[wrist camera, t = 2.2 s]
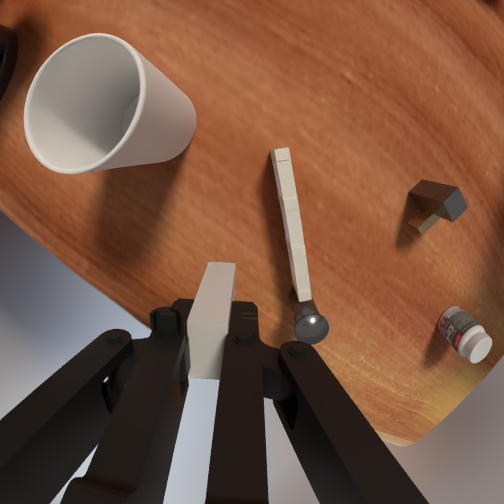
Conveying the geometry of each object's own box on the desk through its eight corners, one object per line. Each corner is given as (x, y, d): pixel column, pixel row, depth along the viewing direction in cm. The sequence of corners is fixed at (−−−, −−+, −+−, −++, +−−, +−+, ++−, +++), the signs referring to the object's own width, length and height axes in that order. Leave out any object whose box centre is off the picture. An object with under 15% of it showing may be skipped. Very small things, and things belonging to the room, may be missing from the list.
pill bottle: (435, 315, 35) (467, 348, 27) (460, 299, 35) (494, 327, 27) (439, 339, 37) (467, 372, 29) (463, 323, 36) (493, 352, 28)
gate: (302, 278, 33) (311, 299, 28) (292, 281, 33) (299, 302, 28) (281, 148, 29) (288, 147, 24) (269, 150, 29) (274, 149, 24)
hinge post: (279, 294, 34) (287, 330, 27) (302, 276, 33) (316, 309, 26) (296, 312, 34) (307, 350, 27) (318, 296, 34) (335, 330, 27)
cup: (203, 151, 29) (157, 148, 14) (129, 172, 29) (35, 193, 14) (188, 76, 26) (134, 11, 11) (115, 100, 27) (19, 70, 11)
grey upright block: (392, 205, 31) (425, 219, 24) (422, 179, 30) (458, 187, 23) (405, 226, 31) (438, 244, 25) (434, 200, 30) (470, 213, 24)
